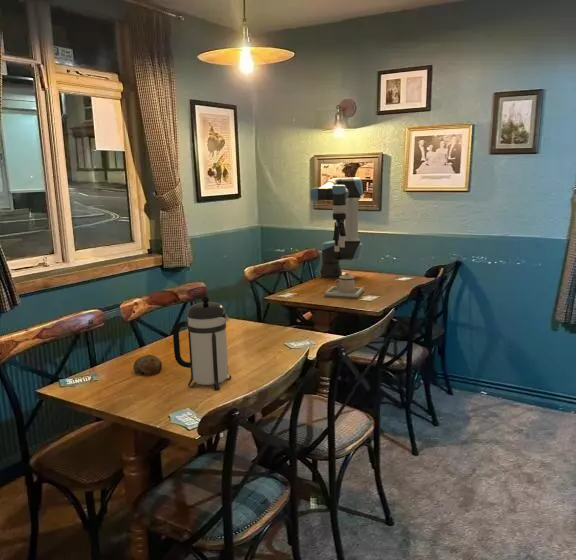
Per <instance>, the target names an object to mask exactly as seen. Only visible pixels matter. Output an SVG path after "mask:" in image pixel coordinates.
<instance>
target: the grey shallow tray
mask: <svg viewBox="0 0 576 560" xmlns="http://www.w3.org/2000/svg"><path fill="white" fill-rule="evenodd" d="M364 293H365V290H364V287H363V286H362V287H357V286H356V287H355V292H354V293H340V292H339V288H338V287H337V286H336V285H332V286H331V287H330V288H328V289H327V290H326V291H325V292H324V296H323V297H325V298H338V299H339V298H341V299H359V298H360V297H361V296H362V295H363V294H364ZM361 294H362V295H361Z"/></svg>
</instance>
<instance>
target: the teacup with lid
mask: <svg viewBox="0 0 576 560" xmlns="http://www.w3.org/2000/svg"><path fill="white" fill-rule="evenodd" d="M355 279H356V277H355V275H352V274H350V273H349V272H345V273H344V274H342V276H340V277H338V279H335V281H334V283H335V286H337V287H338V288H339V292H340V293H354V292H355V286H356V285H355V284H356V283H355V282H356V281H355ZM338 282H339V283H338Z"/></svg>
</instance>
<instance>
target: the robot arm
mask: <svg viewBox="0 0 576 560" xmlns="http://www.w3.org/2000/svg"><path fill="white" fill-rule="evenodd" d="M363 188H364V187H363V181H362V179H361V178H360V177H356V176H355V177H335V178H332V179H329V180H326V181H325V182H324V183H323V185H322V186H319V187H312V188H311V189H310V193H309V195H310V196H309V197H310V200H311V201H313V202H315V201H316V202H322V201H323V202H325V201H326V202H328V201H330V202H331V201H332V206H331V208H332V212H333V213H332V220H334V221H335V222H334V227H333V229H334V230H333V238H332V240H328V241H325V242H322V244H321V267H320V269H319V277H323V278H339V277H340V276H342V275H343V271H342V269H341V265H340V261H352V262H354V261H359V260H360V259H361V257H362V253H363V243H362V242H361V239H360V238H359V202H360V201H359V200H361V196H364V189H363Z"/></svg>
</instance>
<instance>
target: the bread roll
mask: <svg viewBox="0 0 576 560" xmlns="http://www.w3.org/2000/svg"><path fill="white" fill-rule="evenodd" d="M162 367H163V366H162V361H161V359H160V358H158V357H157V356H155V355H152V354H145V355H142V356H140V357H138V358H137V359H135V361H134V362H133V372H134V374H135V375H136V376H137V375H138V376H137V377H152V375H153V376H156V375H158V374H160V373H161V372H160V371H162V369H163V368H162Z"/></svg>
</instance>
